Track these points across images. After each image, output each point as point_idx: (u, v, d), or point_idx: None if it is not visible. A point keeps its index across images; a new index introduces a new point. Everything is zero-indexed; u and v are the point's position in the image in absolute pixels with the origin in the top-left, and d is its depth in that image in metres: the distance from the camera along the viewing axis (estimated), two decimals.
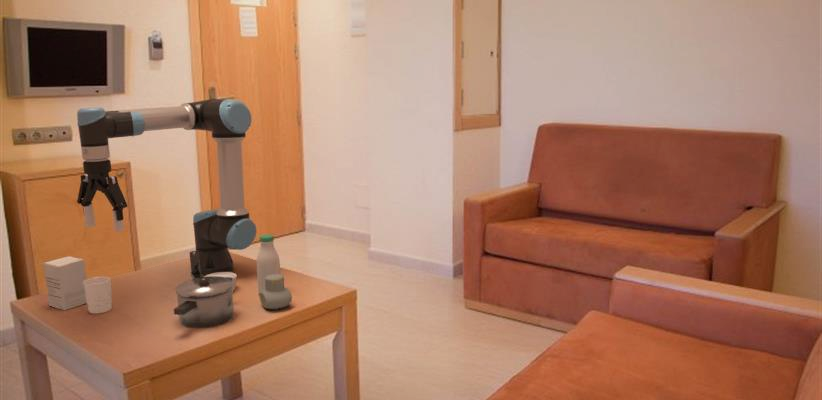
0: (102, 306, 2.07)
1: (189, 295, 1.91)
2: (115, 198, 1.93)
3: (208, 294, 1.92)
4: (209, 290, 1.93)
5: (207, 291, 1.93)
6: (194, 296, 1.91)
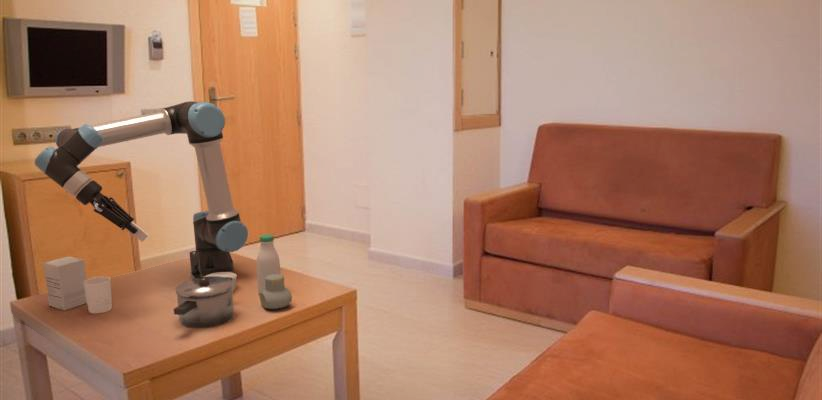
0: (102, 306, 2.07)
1: (189, 295, 1.91)
2: None
3: (208, 294, 1.92)
4: (209, 290, 1.93)
5: (207, 291, 1.93)
6: (194, 296, 1.91)
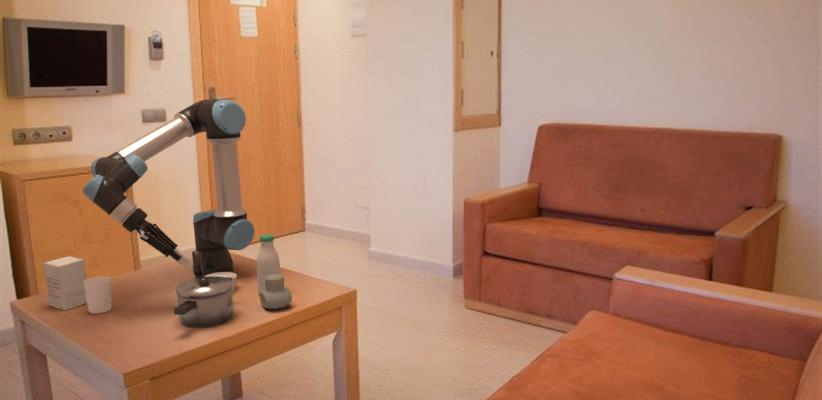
0: (102, 306, 2.07)
1: (188, 295, 1.91)
2: None
3: (206, 294, 1.91)
4: (208, 290, 1.93)
5: (206, 291, 1.92)
6: (192, 296, 1.91)
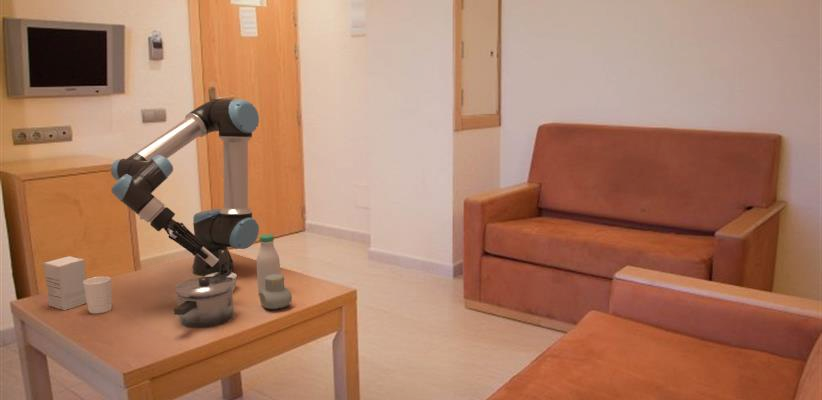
0: (102, 306, 2.07)
1: (177, 292, 1.94)
2: None
3: (189, 295, 1.91)
4: (194, 291, 1.92)
5: (191, 292, 1.92)
6: (179, 294, 1.93)
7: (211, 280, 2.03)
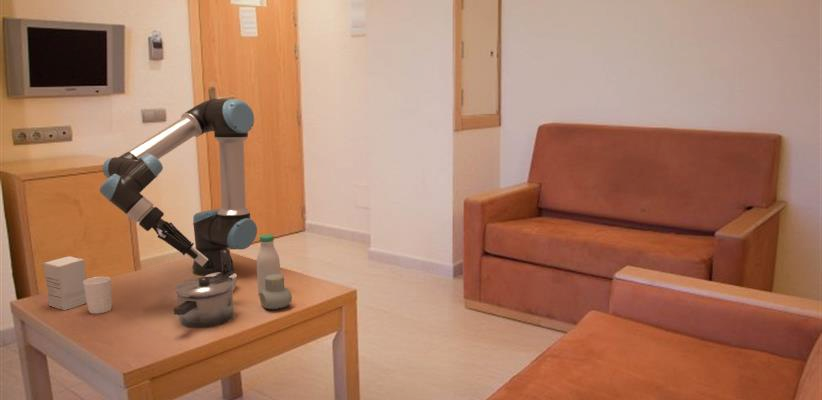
0: (102, 306, 2.07)
1: (176, 292, 1.94)
2: None
3: (187, 295, 1.91)
4: (192, 291, 1.92)
5: (190, 292, 1.92)
6: (178, 294, 1.93)
7: (212, 280, 2.03)
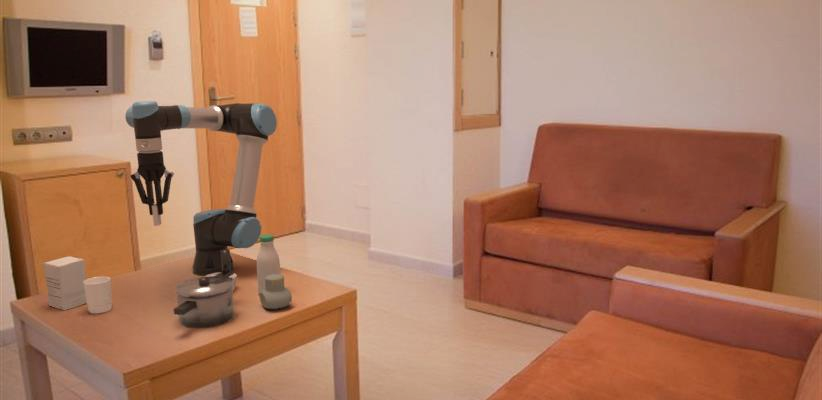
0: (102, 306, 2.07)
1: (176, 292, 1.94)
2: (165, 192, 2.06)
3: (187, 295, 1.91)
4: (192, 291, 1.92)
5: (190, 292, 1.92)
6: (178, 294, 1.93)
7: (212, 280, 2.03)
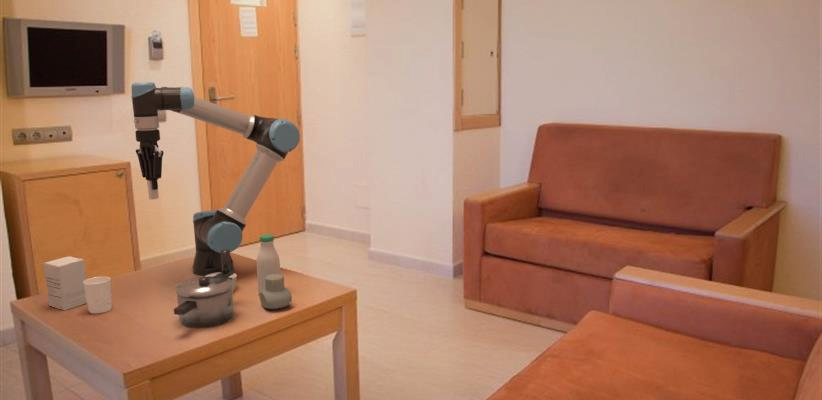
0: (102, 306, 2.07)
1: (176, 292, 1.94)
2: (154, 169, 2.17)
3: (187, 295, 1.91)
4: (192, 291, 1.92)
5: (190, 292, 1.92)
6: (178, 294, 1.93)
7: (212, 280, 2.03)
